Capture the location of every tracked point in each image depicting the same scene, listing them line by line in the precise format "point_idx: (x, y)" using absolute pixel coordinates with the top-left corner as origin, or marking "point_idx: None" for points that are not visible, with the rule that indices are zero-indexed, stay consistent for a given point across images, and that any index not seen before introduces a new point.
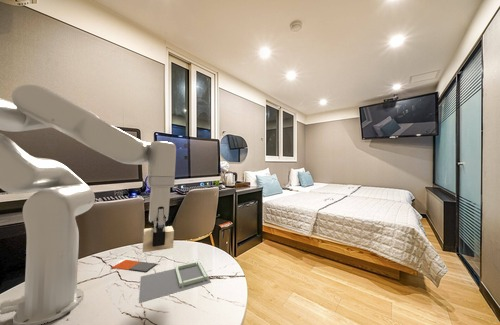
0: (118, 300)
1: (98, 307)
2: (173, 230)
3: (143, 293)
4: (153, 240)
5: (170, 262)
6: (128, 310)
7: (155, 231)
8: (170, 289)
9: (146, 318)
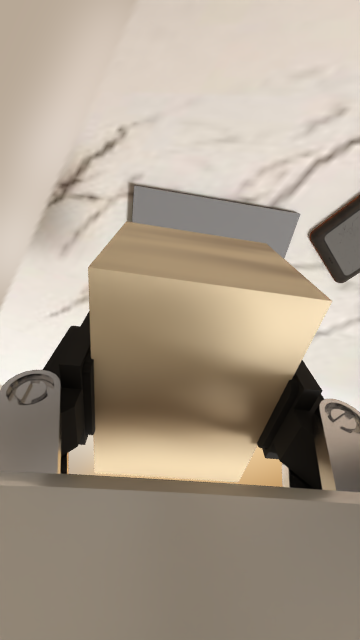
0: (203, 119)
1: (204, 34)
2: (110, 473)
3: (179, 207)
4: (85, 321)
5: None
6: (124, 149)
7: (5, 392)
8: None
9: (59, 197)
